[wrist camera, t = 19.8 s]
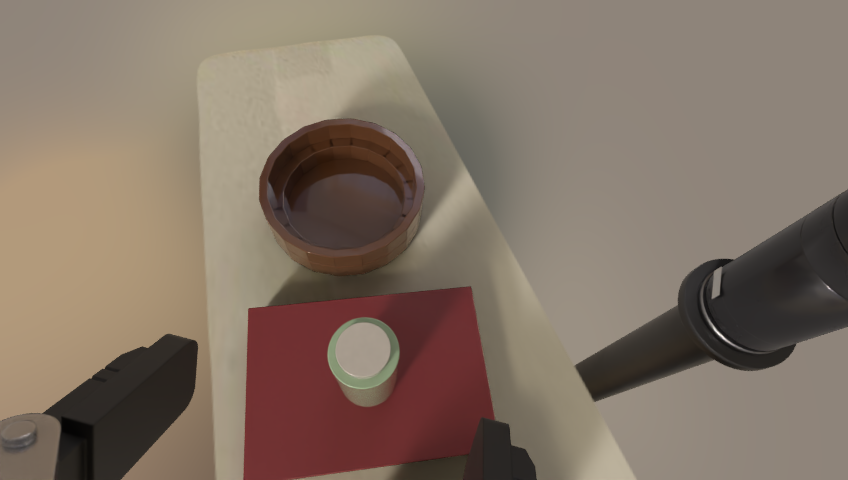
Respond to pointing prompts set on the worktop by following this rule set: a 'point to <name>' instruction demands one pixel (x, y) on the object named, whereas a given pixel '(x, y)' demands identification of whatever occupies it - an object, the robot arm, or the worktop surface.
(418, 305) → the book
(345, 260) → the bowl
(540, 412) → the worktop surface
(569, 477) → the worktop surface
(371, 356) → the pepper shaker
